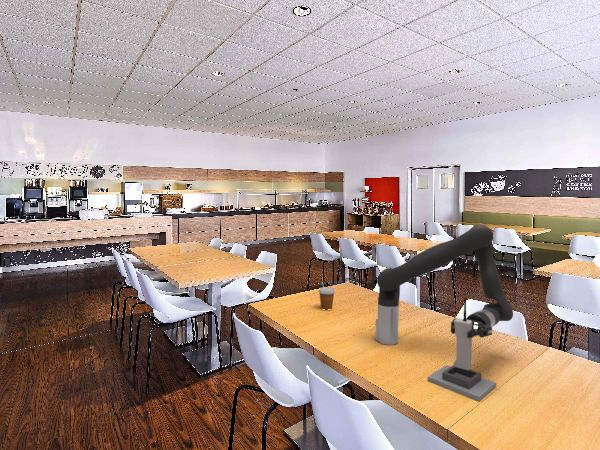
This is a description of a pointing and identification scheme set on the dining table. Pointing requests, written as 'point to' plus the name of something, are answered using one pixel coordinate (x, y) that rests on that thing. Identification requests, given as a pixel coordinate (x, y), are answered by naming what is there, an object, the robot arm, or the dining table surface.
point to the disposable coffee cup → (326, 297)
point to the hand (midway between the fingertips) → (460, 333)
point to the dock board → (462, 382)
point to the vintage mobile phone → (463, 342)
